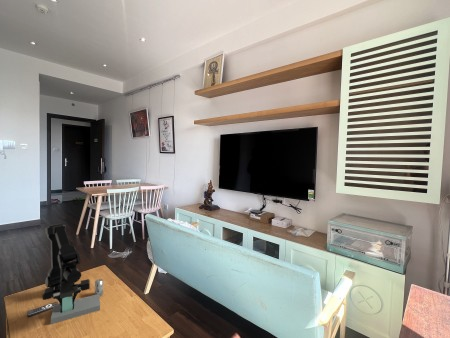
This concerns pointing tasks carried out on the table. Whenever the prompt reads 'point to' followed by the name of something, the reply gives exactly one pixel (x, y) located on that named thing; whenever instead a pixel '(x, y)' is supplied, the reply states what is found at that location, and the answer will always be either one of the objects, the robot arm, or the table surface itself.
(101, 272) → the table surface
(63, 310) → the square peg
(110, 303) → the table surface
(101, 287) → the round peg
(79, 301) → the plate
